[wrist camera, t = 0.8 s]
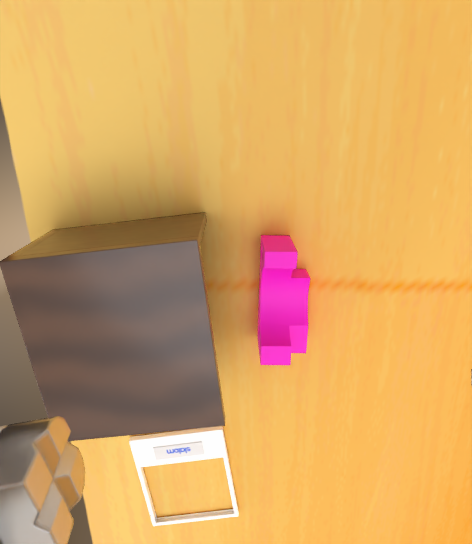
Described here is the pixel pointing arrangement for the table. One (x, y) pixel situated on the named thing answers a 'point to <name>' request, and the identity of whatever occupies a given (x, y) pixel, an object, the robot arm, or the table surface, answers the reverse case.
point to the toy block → (281, 301)
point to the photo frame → (182, 450)
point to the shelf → (119, 326)
